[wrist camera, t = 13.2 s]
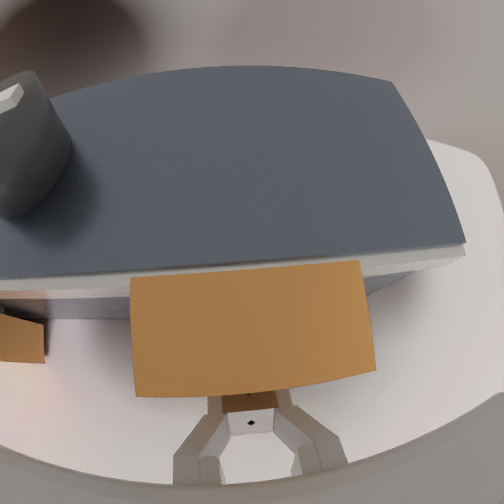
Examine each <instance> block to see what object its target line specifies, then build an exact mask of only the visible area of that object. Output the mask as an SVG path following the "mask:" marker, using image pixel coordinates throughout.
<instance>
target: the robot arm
mask: <svg viewBox="0 0 504 504" xmlns="http://www.w3.org/2000/svg"><path fill="white" fill-rule="evenodd" d="M271 431H273V433H274V434H275V435H276V436H277V437H278V438H279V439H280V440H281V441H282V442H283V443H284V444H285V445H286V446H287V447H288V448H289V449H290V450H291V451H292V452H293V453H295V454H296V455H295V458H294V462H293V465H292V468H291V474H292V477H286V478H280V479H274V480H266V481H258V482H248V483H237V484H226V479H225V476H224V473H223V470H222V467H221V464H220V460H219V457H220V456H221V454H222V452H223V450H224V449H225V447H226V445H227V443H228V442H229V440H230V438H231V436H233V435H243V434H251V433H262V432H271ZM0 504H504V393H503V392H500V393H497V394H495V395H494V396H492V397H491V398H489V399H488V400H486V401H485V402H483V403H482V404H480V405H478V406H477V407H475V408H473V409H472V410H470V411H469V412H467V413H465V414H463V415H462V416H460V417H458V418H456V419H455V420H453V421H451V422H449V423H447V424H445V425H443V426H441V427H439V428H437V429H435V430H433V431H431V432H429V433H427V434H425V435H423V436H421V437H419V438H416V439H414V440H412V441H409V442H407V443H405V444H402V445H400V446H397V447H395V448H392V449H390V450H387V451H384V452H382V453H379V454H376V455H373V456H370V457H367V458H364V459H361V460H358V461H355V462H351V463H348V462H347V459H346V456H345V453H344V451H343V448H342V445H341V442H340V440H339V437H338V436H337V435H335V434H334V433H332V432H331V431H330V430H328V429H327V428H326V427H324V426H323V425H322V424H320V423H319V422H318V421H316V420H315V419H314V418H312V417H311V416H310V415H309V414H307V413H306V412H305V411H303V410H302V409H301V408H300V407H298V406H297V405H295V406H293V404H292V400H291V396H290V393H289V389H288V388H287V389H280V390H272V391H264V392H256V393H246V394H235V395H222V396H208V415H204V416H203V417H202V419H201V420H200V421H199V423H198V424H197V425H196V427H195V428H194V429H193V431H192V432H191V433H190V435H189V436H188V437H187V439H186V440H185V441H184V442H183V444H182V445H181V446H180V448H179V449H178V450H177V451H176V453H175V454H174V459H173V484H157V483H146V482H137V481H129V480H121V479H115V478H109V477H103V476H98V475H93V474H89V473H84V472H80V471H76V470H72V469H68V468H64V467H61V466H57V465H54V464H50V463H47V462H44V461H41V460H38V459H35V458H32V457H29V456H27V455H24V454H21V453H19V452H16V451H14V450H11V449H9V448H7V447H5V446H2V445H0Z"/></svg>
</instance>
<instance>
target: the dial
mask: <svg viewBox="0 0 504 504" xmlns="http://www.w3.org/2000/svg"><path fill="white" fill-rule="evenodd" d="M70 151H71V139H70V136H69V133H68V132H67V130H66V128H65V127H64V125H63V123H62V121H61V120H60V118H59V116H58V114H57V112H56V111H55V109H54V107H53V105H52V103H51V102H50V100H49V98H48V96H47V94H46V92H45V90H44V88H43V87H42V85H41V83H40V81H39V79H38V77H37V75H36V73H35V72H33V71H23V72H19V73H17V74H14V75H12V76H10V77H9V78H7V79H5V80H4V81H2V82H1V83H0V217H3V218H13V217H17V216H19V215H22V214H24V213H25V212H27V211H29V210H30V209H31V208H33V207H34V206H35V205H36V204H38V203H39V202H40V201H41V200H42V199H43V198H44V197H45V196H46V195H47V194H48V192H49V191H50V190H51V189H52V188H53V186H54V185H55V184H56V182H57V181H58V179H59V178H60V176H61V174H62V172H63V171H64V168H65V166H66V164H67V162H68V159H69V155H70Z"/></svg>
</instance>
